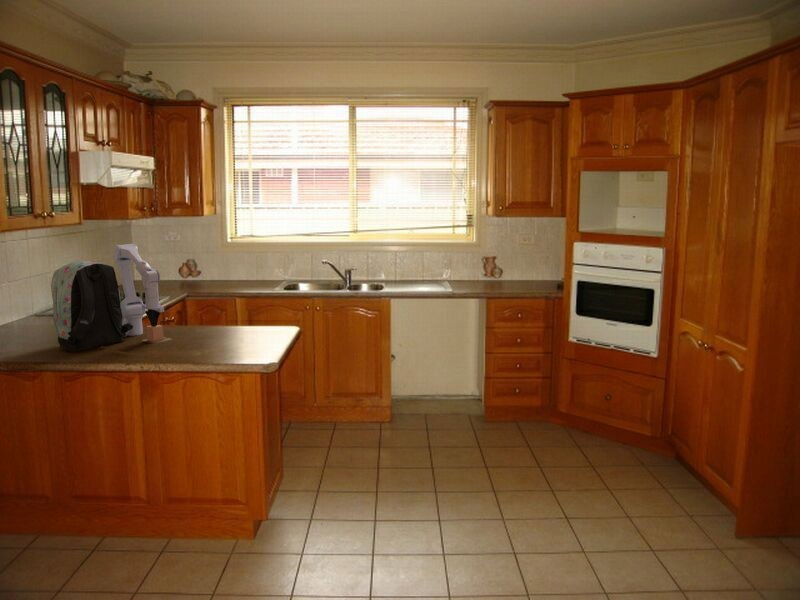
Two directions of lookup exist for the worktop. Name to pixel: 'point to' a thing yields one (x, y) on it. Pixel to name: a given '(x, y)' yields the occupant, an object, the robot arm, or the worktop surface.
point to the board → (158, 341)
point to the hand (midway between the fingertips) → (154, 325)
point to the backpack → (87, 306)
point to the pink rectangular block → (154, 333)
